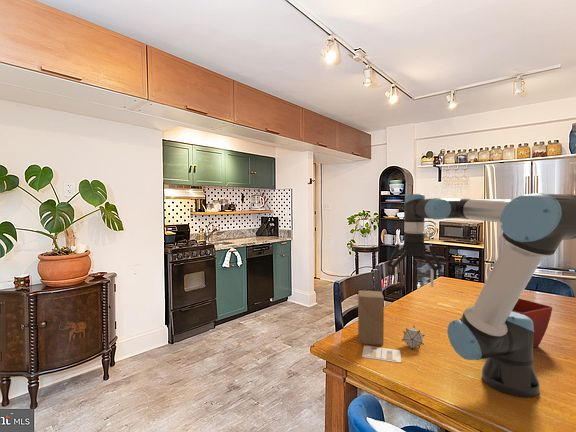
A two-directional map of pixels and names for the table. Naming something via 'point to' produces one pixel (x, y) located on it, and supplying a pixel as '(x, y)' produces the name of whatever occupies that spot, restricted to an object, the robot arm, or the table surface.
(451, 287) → the table surface
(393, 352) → the page
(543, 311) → the plant pot
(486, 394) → the table surface
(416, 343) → the game die
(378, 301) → the wooden block
